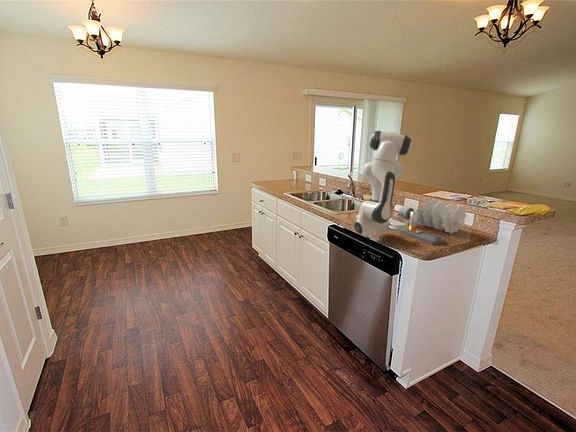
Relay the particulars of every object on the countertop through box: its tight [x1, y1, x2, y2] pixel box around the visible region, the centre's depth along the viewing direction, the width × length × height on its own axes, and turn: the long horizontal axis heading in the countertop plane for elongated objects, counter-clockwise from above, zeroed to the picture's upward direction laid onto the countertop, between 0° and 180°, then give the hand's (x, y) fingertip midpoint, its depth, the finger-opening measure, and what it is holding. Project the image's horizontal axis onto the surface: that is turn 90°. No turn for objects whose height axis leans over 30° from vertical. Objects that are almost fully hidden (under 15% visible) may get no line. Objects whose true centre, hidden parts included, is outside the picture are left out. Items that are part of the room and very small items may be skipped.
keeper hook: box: [433, 234, 443, 241], centre depth 156 cm, size 3×3×2 cm
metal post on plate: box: [407, 210, 424, 233], centre depth 169 cm, size 11×5×11 cm, turn 24°
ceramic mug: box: [396, 206, 415, 220], centre depth 204 cm, size 11×8×8 cm
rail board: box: [396, 230, 447, 246], centre depth 166 cm, size 25×10×2 cm, turn 24°
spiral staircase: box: [415, 199, 467, 235], centre depth 177 cm, size 18×18×25 cm
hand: (400, 221), depth 166 cm, fingers open, 8 cm apart
